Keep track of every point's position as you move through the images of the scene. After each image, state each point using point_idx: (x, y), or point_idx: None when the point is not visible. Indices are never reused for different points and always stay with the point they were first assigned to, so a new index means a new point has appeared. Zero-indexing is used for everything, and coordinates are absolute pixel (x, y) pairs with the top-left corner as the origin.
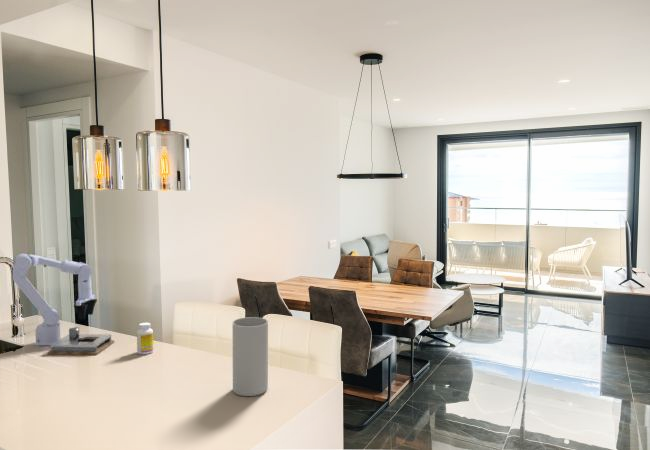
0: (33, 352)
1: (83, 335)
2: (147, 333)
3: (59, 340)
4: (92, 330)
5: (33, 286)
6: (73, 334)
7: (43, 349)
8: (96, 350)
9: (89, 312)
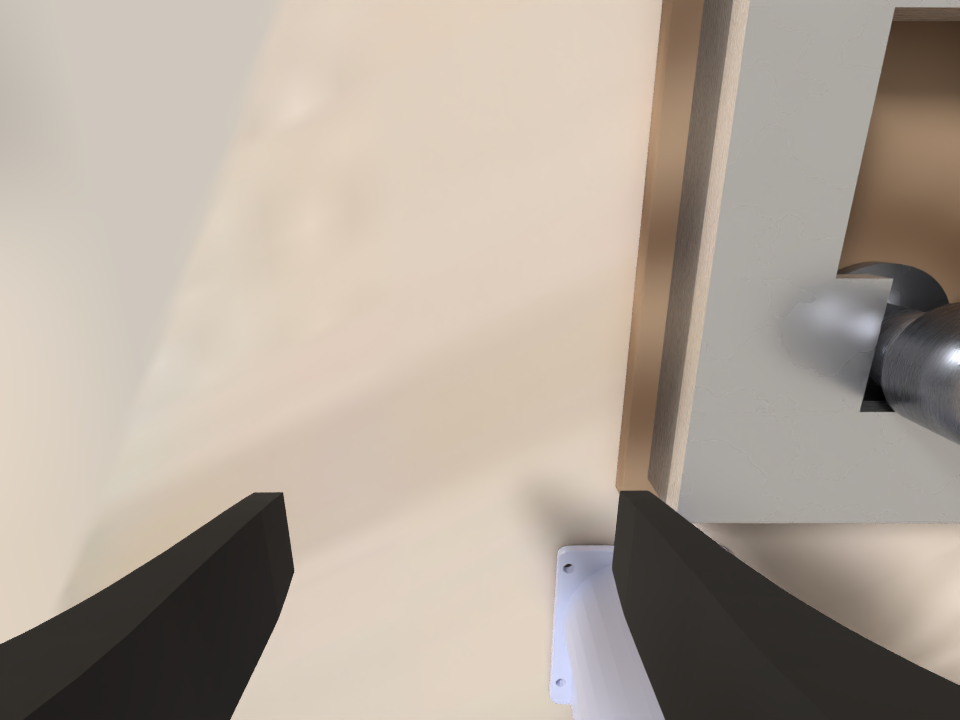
0: (887, 619)
1: (762, 319)
2: None
3: (932, 508)
4: (189, 439)
5: None
6: None
7: (816, 586)
8: None
9: (268, 575)
